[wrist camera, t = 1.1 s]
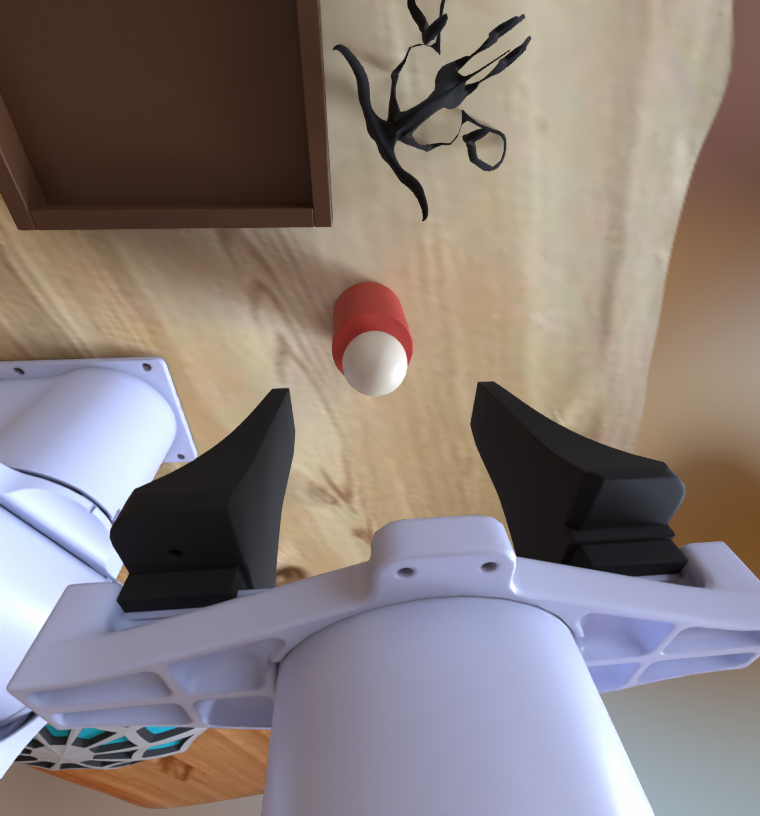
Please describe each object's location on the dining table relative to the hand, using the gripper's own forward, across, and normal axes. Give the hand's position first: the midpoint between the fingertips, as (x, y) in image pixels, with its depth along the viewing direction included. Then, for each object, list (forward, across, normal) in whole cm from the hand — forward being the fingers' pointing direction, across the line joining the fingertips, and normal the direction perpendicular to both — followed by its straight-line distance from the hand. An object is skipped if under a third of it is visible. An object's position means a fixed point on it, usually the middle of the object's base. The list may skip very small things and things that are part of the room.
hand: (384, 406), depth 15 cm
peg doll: (+9, 0, 0) cm, 9 cm away
